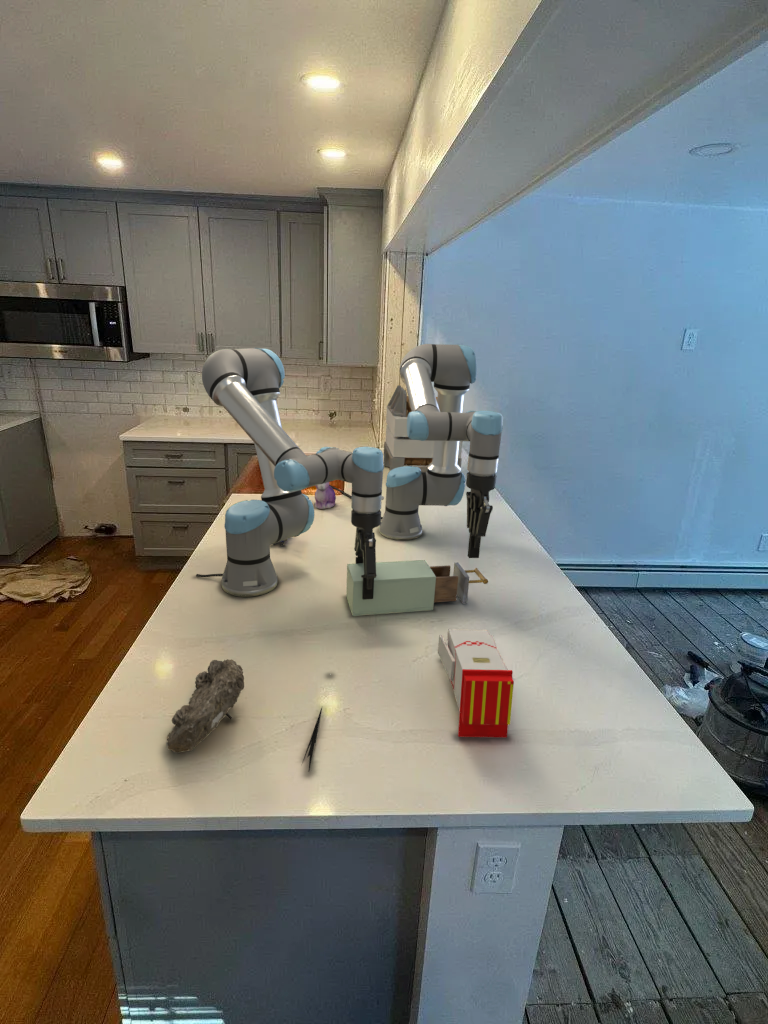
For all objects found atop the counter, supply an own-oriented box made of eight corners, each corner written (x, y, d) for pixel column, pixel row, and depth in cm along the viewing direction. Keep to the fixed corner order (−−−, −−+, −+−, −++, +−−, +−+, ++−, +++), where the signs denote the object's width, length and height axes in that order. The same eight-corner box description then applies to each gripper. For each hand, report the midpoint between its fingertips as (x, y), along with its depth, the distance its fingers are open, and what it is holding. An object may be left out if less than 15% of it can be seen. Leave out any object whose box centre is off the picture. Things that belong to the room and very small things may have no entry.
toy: (488, 613, 130) (523, 677, 101) (484, 667, 133) (517, 744, 104) (435, 612, 130) (455, 676, 101) (432, 666, 133) (451, 743, 103)
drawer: (475, 586, 162) (478, 561, 159) (487, 601, 154) (490, 575, 151) (385, 592, 156) (387, 566, 154) (393, 608, 148) (394, 581, 145)
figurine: (318, 511, 218) (318, 473, 213) (309, 502, 226) (309, 466, 221) (341, 508, 222) (341, 471, 217) (331, 500, 231) (331, 464, 226)
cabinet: (422, 591, 160) (425, 559, 156) (433, 610, 150) (436, 576, 147) (346, 596, 155) (347, 563, 152) (352, 616, 146) (353, 581, 142)
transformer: (382, 463, 289) (386, 382, 275) (445, 464, 293) (451, 384, 279) (390, 482, 257) (394, 392, 243) (460, 483, 261) (468, 394, 247)
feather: (331, 679, 122) (336, 673, 122) (307, 777, 96) (313, 769, 95) (324, 675, 122) (329, 669, 121) (298, 772, 95) (304, 764, 95)
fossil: (192, 660, 117) (244, 628, 112) (224, 691, 120) (276, 661, 115) (142, 746, 98) (202, 712, 93) (182, 779, 101) (242, 748, 96)
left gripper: (391, 525, 132) (387, 609, 140) (372, 494, 153) (369, 568, 161) (359, 526, 130) (357, 611, 138) (344, 495, 151) (343, 570, 159)
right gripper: (506, 479, 140) (495, 566, 148) (486, 465, 152) (477, 546, 160) (477, 480, 138) (468, 568, 146) (459, 466, 150) (452, 547, 158)
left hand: (363, 588), depth 149 cm, fingers closed on cabinet, 10 cm apart
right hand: (473, 556), depth 153 cm, fingers closed
